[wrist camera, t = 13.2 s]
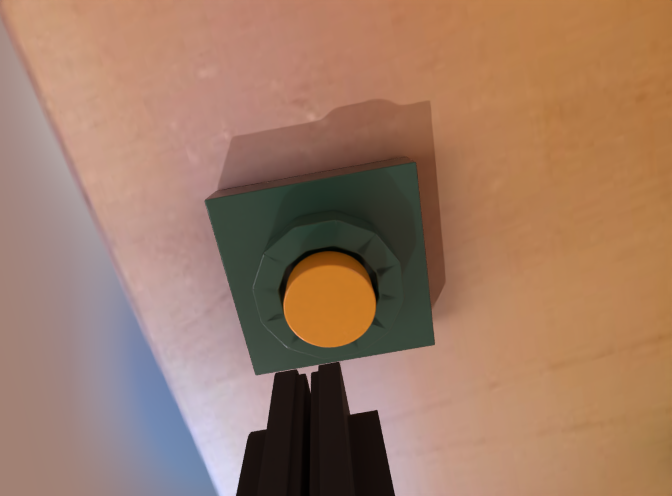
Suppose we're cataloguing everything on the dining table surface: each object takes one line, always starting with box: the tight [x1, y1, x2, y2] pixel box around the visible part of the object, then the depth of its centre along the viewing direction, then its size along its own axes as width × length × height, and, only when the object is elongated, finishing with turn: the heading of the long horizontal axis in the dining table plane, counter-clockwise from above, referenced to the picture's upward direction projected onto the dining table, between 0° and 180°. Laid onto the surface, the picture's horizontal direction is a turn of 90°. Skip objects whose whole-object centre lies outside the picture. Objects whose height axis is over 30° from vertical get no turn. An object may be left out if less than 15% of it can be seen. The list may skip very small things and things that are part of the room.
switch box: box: [205, 157, 435, 375], centre depth 20 cm, size 10×10×4 cm
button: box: [283, 251, 376, 347], centre depth 18 cm, size 4×4×2 cm
